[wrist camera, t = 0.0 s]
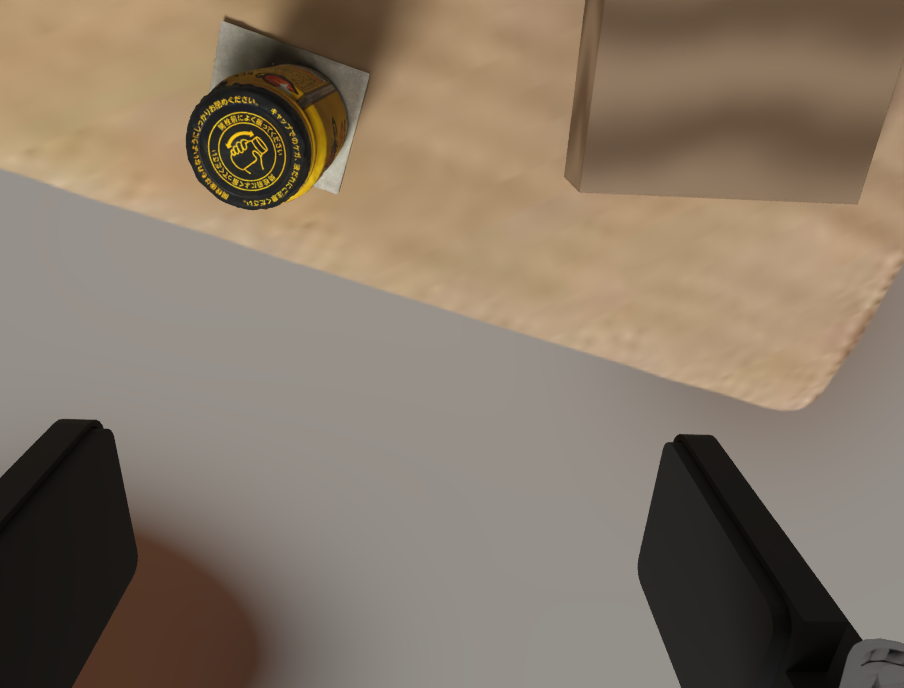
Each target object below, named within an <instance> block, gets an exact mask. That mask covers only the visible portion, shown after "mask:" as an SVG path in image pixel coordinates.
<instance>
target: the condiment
mask: <svg viewBox="0 0 904 688" xmlns="http://www.w3.org/2000/svg"><path fill="white" fill-rule="evenodd" d="M272 63H274V65H272ZM369 76H370V74H369V73H366V72H363V71H361V70H358V69H355V68H352V67H350V66H347V65H344V64H341V63H339V62H336V61H333V60H330V59H328V58H325V57H322V56H319V55H317V54H314V53H311V52H308V51H305V50H302V49H300V48H297V47H294V46H291V45H288V44H285V43H283V42H279V41H277V40H275V39H272V38H269V37H266V36H264V35H261V34H258V33H255V32H252V31H250V30H247V29H244V28H241V27H238V26H236V25H233V24H230V23H227V22H224V21H222V20H221V25H220V31H219V40H218V46H217V52H216V58H215V64H214V71H213V77H212V83H211V88H210V93H209V94H208V95H206V96H204V97H203V98H202V99H201V101H200V103H199V104H198V105H196V107H195V109H194V111H193V112H192V114H191V116H190V120H189V123H188V127H187V133H186V149H187V155H188V160H189V162H190V164H191V166H192V168H193V171H194V173H195V175H196V178H197V179H198V181H199V182H200V183H201V184H203V185H204V186H205V187H206V188H207V190H209V191H210V192H211V193H212V194H213V195H215V196H216V197H217V198H218V199H219V200H221V201H223V202H225V203H227V204H230V205H233V206H236V207H238V208H243V209H247V210H258V209H268V208H273V207H275V206H278V205H280V204H282V203H285V202H288V201H291V200H293V199H295V198H297V197H300V196H301V195H303V194H304V193H306V192H308V191H309V190H310V189H311V188H312V187H316V188H320V189H323V190H326V191H329V192H332V193H334V194H337V195H338V192H339V188H340V185H341V181H342V177H343V174H344V170H345V166H346V162H347V159H348V155H349V151H350V147H351V144H352V140H353V136H354V132H355V129H356V125H357V121H358V117H359V114H360V110H361V106H362V101H363V98H364V94H365V91H366V87H367V83H368V80H369Z"/></svg>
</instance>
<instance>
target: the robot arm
mask: <svg viewBox="0 0 904 688" xmlns="http://www.w3.org/2000/svg"><path fill="white" fill-rule="evenodd" d="M137 559H138V554H137V548H136V543H135V538H134V533H133V528H132V524H131V519H130V513H129V508H128V504H127V498H126V493H125V489H124V483H123V479H122V473H121V468H120V464H119V459H118V454H117V449H116V444H115V439H114V435H113V433H112V431H111V430H110V429H104V428H103V425H102V424H101V423H100V421H97V420H82V419H81V420H80V419H79V420H78V419H60V420H58V421H56V422H55V423H54V424H53V425H52V426H51V427H50V428H49V429H48V430H47V431H46V432H45V433H44V434H43V435H42V436H41V437H40V438H39V439H38V440H37V441H36V442H35V443H34V444H33V445H32V446H31V447H30V448H29V449H28V450H27V451H26V452H25V453H24V454H23V456H21V457H20V458H19V459H18V460H17V461H16V462H15V463H14V464H13V465H12V466H11V468H9V469H8V470H7V471H6V472H5V474H4V475H3V476H2V477H1V478H0V688H72V686H73V684H74V683H75V681H76V679H77V677H78V675H79V674H80V672H81V670H82V668H83V666H84V665H85V663H86V661H87V659H88V657H89V656H90V654H91V652H92V650H93V648H94V646H95V644H96V643H97V641H98V639H99V637H100V635H101V634H102V632H103V630H104V628H105V627H106V625H107V623H108V621H109V619H110V618H111V616H112V614H113V612H114V610H115V608H116V607H117V605H118V603H119V601H120V599H121V598H122V596H123V594H124V592H125V590H126V588H127V586H128V585H129V583H130V581H131V580H132V578H133V575H134V573H135V570H136V567H137V561H138V560H137ZM638 575H639V580H640V583H641V586H642V589H643V591H644V594H645V596H646V599H647V601H648V604H649V606H650V609H651V611H652V614H653V617H654V619H655V622H656V624H657V626H658V629H659V632H660V634H661V637H662V640H663V642H664V645H665V647H666V650H667V652H668V655H669V657H670V660H671V663H672V665H673V668H674V670H675V673H676V675H677V678H678V680H679V683H680V686H681V688H904V644H903V643H901V642H896V641H891V640H886V639H866V640H862V639H861V637H860V636H859V635H858V633H857V632H856V630H855V629H854V628H853V626H852V625H851V624H850V622H849V621H848V619H847V618H846V617H845V615H844V614H843V612H842V611H841V610H840V608H839V607H838V606H837V604H836V603H835V601H834V600H833V599H832V597H831V596H830V595H829V593H828V592H827V590H826V589H825V588H824V586H823V585H822V584H821V582H820V581H819V579H818V578H817V577H816V575H815V574H814V573H813V571H812V570H811V569H810V567H809V566H808V565H807V563H806V562H805V560H804V559H803V558H802V556H801V555H800V553H799V552H798V551H797V549H796V548H795V547H794V545H793V544H792V542H791V541H790V539H789V538H788V537H787V535H786V534H785V533H784V531H783V530H782V529H781V527H780V526H779V524H778V523H777V522H776V520H775V519H774V518H773V517H772V515H771V514H770V512H769V511H768V510H767V508H766V507H765V505H764V504H763V503H762V501H761V500H760V499H759V497H758V496H757V494H756V493H755V492H754V490H753V489H752V488H751V486H750V485H749V483H748V482H747V481H746V479H745V478H744V477H743V475H742V474H741V472H740V471H739V470H738V468H737V467H736V465H735V464H734V463H733V461H732V460H731V459H730V457H729V456H728V455H727V453H726V452H725V450H724V449H723V448H722V446H721V445H720V443H719V442H718V441H717V439H716V438H715V437H714V436H712V435H692V434H691V435H689V434H679V435H677V436H676V437H675V439H674V441H673V442H668V443H666V444H665V445H664V448H663V451H662V456H661V461H660V465H659V469H658V474H657V478H656V483H655V487H654V491H653V496H652V500H651V505H650V509H649V514H648V519H647V523H646V527H645V532H644V536H643V541H642V545H641V549H640V554H639V559H638Z"/></svg>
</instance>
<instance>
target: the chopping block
mask: <svg viewBox="0 0 904 688" xmlns="http://www.w3.org/2000/svg"><path fill="white" fill-rule="evenodd" d="M903 60H904V0H585V8H584V16H583V25H582V33H581V41H580V50H579V58H578V66H577V74H576V83H575V91H574V99H573V108H572V116H571V124H570V133H569V141H568V149H567V158H566V166H565V174H564V177H565V178H566V179H567V180H568V181H569V182H570V183H571V184H572V185H573V186H574V187H575V188H576V189H577V190H578V191H579V192H580V193H602V194H625V195H648V196H672V197H695V198H718V199H741V200H765V201H788V202H811V203H835V204H858V202H859V199H860V196H861V192H862V189H863V186H864V183H865V180H866V177H867V173H868V170H869V167H870V164H871V161H872V158H873V154H874V151H875V148H876V145H877V142H878V139H879V135H880V132H881V129H882V126H883V123H884V120H885V116H886V113H887V110H888V107H889V104H890V101H891V98H892V94H893V91H894V88H895V85H896V82H897V79H898V75H899V72H900V69H901V66H902V63H903Z"/></svg>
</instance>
